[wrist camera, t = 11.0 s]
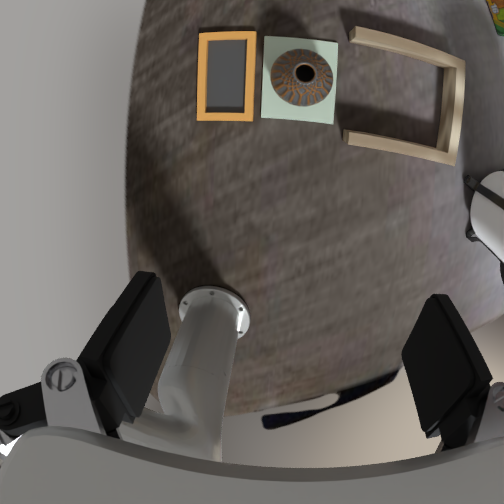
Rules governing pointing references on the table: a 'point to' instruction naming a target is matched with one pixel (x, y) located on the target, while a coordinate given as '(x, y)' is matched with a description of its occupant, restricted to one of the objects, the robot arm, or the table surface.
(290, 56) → the vase
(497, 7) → the chalk box
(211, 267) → the table surface
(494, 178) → the coffee press
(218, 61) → the orange picture frame
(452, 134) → the open-sided enclosure
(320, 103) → the pad
